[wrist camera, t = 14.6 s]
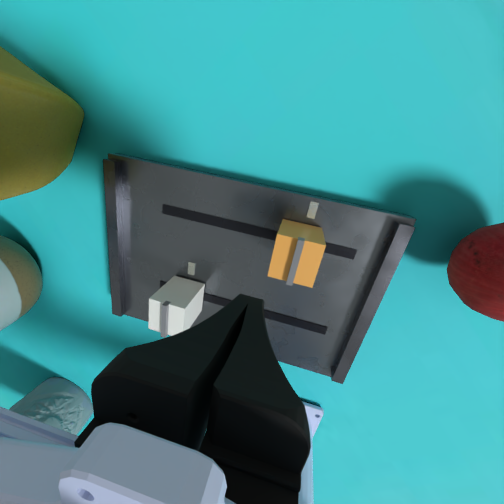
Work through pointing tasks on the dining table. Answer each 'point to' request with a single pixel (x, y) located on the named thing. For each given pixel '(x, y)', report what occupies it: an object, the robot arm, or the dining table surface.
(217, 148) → the dining table surface
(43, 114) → the flower pot
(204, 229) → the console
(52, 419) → the grey textured cup
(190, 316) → the fader
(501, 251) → the onion
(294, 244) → the fader
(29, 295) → the vase
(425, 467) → the dining table surface
